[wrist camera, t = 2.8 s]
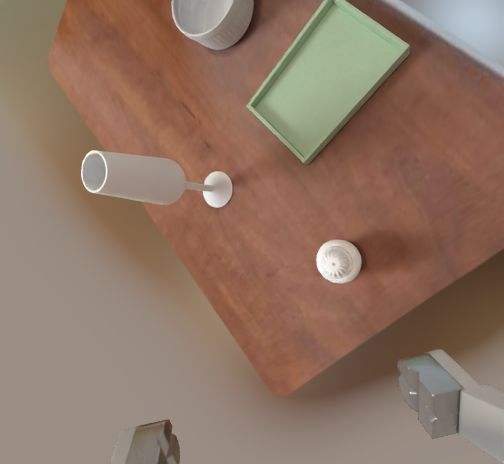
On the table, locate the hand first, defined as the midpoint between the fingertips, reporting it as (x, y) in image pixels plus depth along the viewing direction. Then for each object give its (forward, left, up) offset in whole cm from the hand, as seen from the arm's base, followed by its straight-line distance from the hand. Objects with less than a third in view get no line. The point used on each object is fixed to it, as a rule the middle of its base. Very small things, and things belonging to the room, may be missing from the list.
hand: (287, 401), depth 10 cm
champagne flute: (+28, -11, -36) cm, 47 cm away
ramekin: (+26, -41, -36) cm, 60 cm away
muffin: (+5, 0, -36) cm, 36 cm away
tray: (+9, -26, -35) cm, 45 cm away
